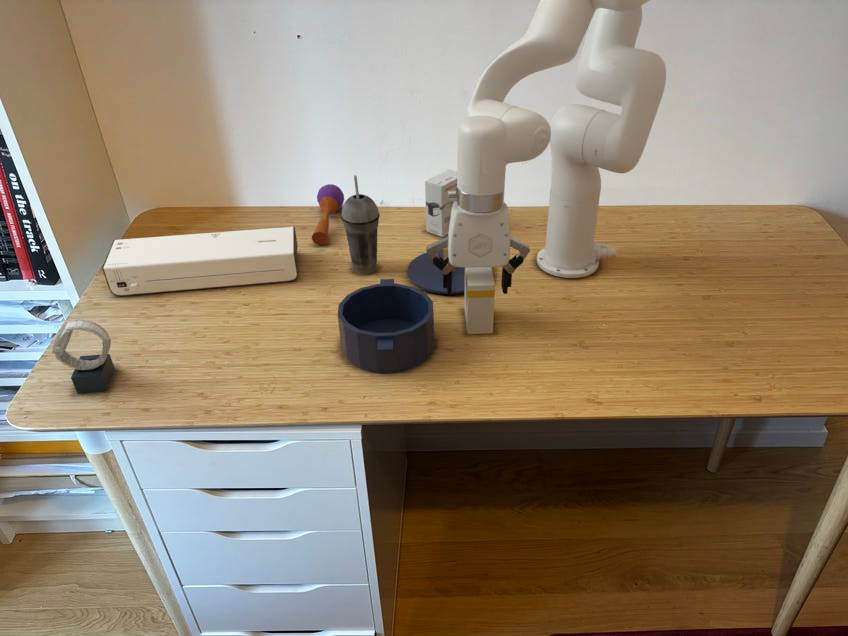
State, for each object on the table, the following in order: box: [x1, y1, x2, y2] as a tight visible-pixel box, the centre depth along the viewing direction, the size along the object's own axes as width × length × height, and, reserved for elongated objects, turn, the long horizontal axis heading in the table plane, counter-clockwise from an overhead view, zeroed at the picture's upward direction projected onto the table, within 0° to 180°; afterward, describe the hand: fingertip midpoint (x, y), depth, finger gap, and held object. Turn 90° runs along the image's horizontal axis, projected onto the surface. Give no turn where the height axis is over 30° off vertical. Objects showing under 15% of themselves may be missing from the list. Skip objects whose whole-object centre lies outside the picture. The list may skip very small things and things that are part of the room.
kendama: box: [311, 183, 345, 246], centre depth 156 cm, size 6×6×20 cm
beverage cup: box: [340, 175, 381, 275], centre depth 136 cm, size 7×7×20 cm
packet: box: [464, 267, 496, 335], centre depth 125 cm, size 5×8×10 cm, turn 5°
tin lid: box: [406, 247, 493, 295], centre depth 139 cm, size 17×17×6 cm
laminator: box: [101, 226, 299, 297], centre depth 137 cm, size 34×12×6 cm, turn 102°
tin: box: [337, 278, 435, 374], centre depth 120 cm, size 16×21×8 cm
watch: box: [51, 318, 116, 394], centre depth 110 cm, size 6×8×11 cm
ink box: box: [424, 169, 457, 238], centre depth 154 cm, size 8×5×12 cm, turn 144°
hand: (476, 290), depth 124 cm, fingers open, 9 cm apart
